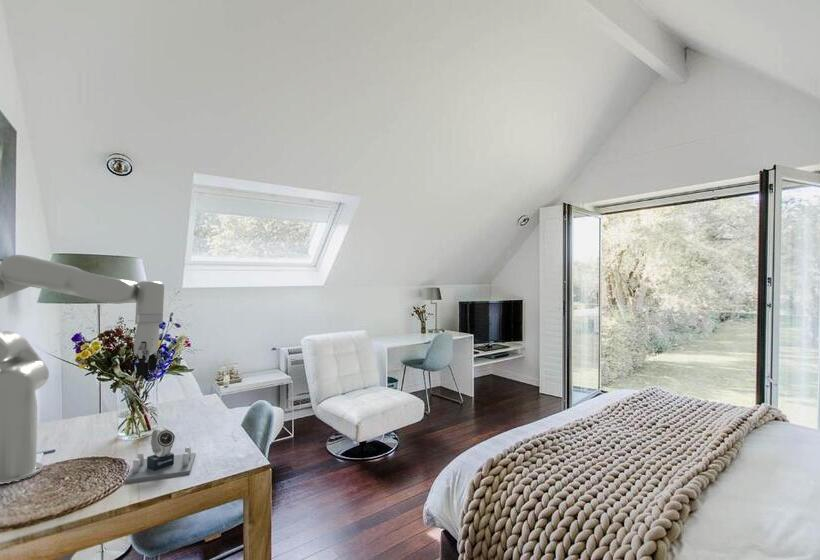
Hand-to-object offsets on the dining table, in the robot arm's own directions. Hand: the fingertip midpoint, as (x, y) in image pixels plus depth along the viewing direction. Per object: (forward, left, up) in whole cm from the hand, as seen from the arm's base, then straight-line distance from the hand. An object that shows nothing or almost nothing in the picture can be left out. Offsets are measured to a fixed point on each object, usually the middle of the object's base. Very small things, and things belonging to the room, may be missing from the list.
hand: (146, 372), depth 132 cm
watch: (+6, -12, -26) cm, 30 cm away
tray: (+7, -12, -27) cm, 30 cm away
